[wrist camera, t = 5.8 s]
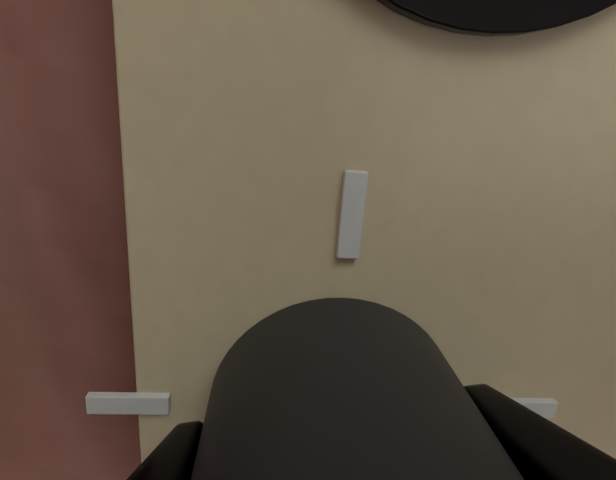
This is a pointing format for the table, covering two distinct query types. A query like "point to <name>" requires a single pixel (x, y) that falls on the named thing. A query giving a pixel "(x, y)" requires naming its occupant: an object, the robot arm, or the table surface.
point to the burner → (496, 14)
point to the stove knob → (343, 403)
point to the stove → (368, 194)
